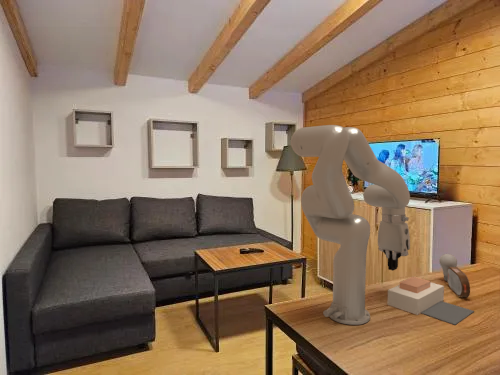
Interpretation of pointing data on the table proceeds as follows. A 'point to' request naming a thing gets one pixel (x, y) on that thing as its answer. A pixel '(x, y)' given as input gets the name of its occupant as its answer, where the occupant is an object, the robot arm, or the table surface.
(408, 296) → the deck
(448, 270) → the tin
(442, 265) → the lightbulb
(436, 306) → the mat
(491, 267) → the table surface
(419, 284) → the tile
